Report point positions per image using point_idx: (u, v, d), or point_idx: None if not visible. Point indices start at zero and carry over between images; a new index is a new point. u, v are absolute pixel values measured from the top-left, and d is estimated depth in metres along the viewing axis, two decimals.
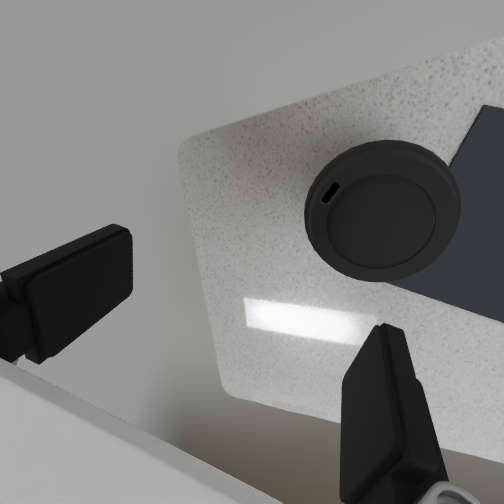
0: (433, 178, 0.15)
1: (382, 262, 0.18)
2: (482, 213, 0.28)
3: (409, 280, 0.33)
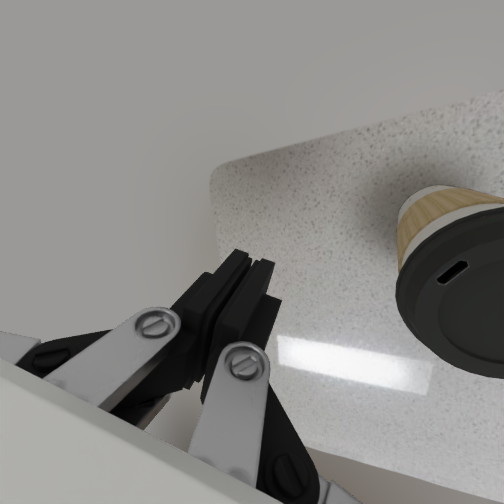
0: None
1: None
2: None
3: None
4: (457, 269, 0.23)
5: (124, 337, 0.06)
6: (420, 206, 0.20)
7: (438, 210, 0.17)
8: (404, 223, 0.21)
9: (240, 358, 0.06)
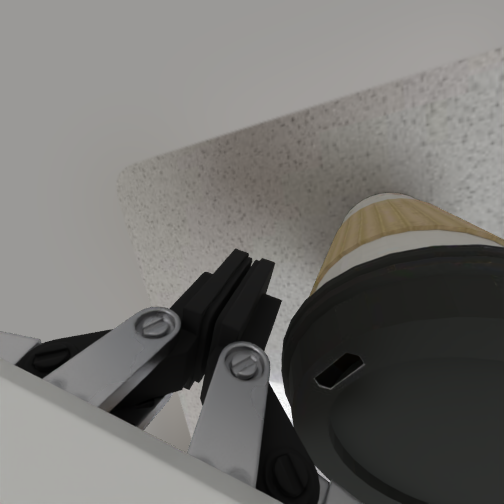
0: None
1: None
2: None
3: None
4: None
5: (124, 337, 0.06)
6: (348, 225, 0.14)
7: (356, 237, 0.11)
8: None
9: (240, 358, 0.06)
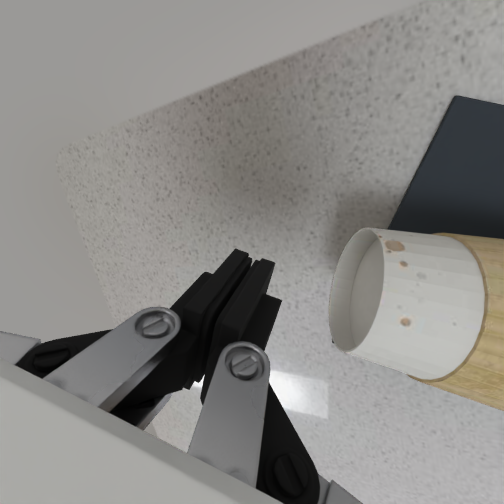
0: None
1: None
2: None
3: None
4: None
5: (124, 337, 0.06)
6: None
7: None
8: None
9: (240, 358, 0.06)
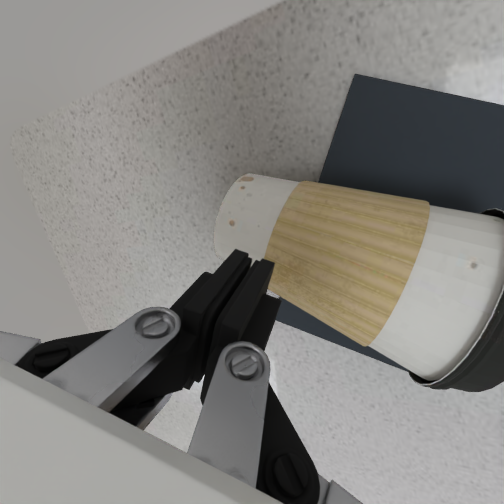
0: None
1: None
2: None
3: (300, 318, 0.25)
4: None
5: (124, 337, 0.06)
6: (314, 247, 0.13)
7: (391, 260, 0.12)
8: (305, 277, 0.14)
9: (240, 358, 0.06)
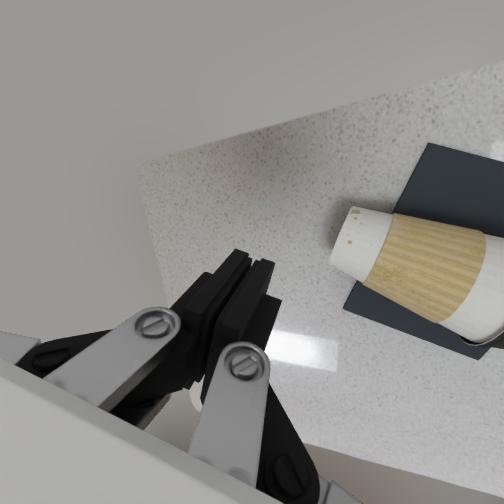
0: None
1: None
2: None
3: (366, 308, 0.33)
4: None
5: (124, 337, 0.06)
6: (412, 260, 0.21)
7: (465, 269, 0.20)
8: (405, 278, 0.22)
9: (240, 358, 0.06)
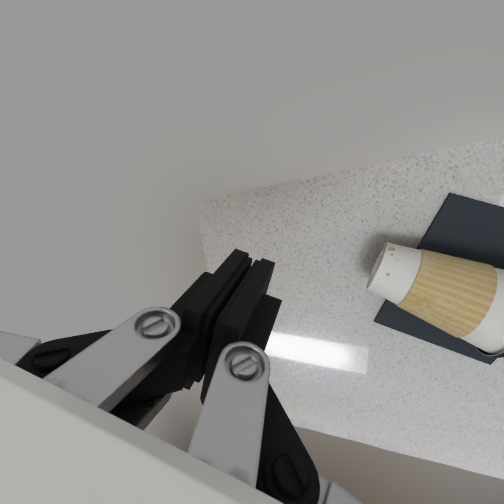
0: None
1: None
2: None
3: (394, 322, 0.39)
4: None
5: (124, 337, 0.06)
6: (439, 290, 0.28)
7: (481, 298, 0.26)
8: (433, 304, 0.28)
9: (240, 358, 0.06)
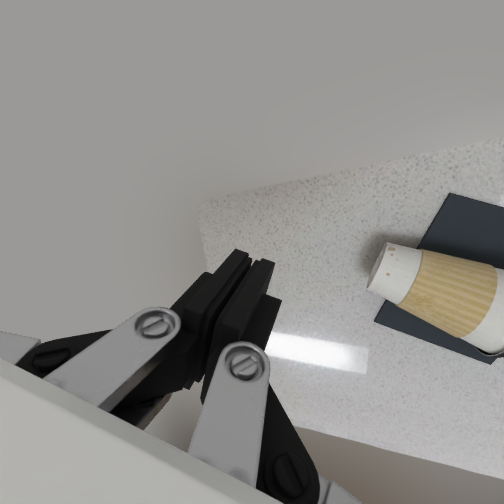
0: None
1: None
2: None
3: (394, 322, 0.39)
4: None
5: (124, 337, 0.06)
6: (439, 290, 0.28)
7: (481, 298, 0.26)
8: (433, 304, 0.28)
9: (240, 358, 0.06)
